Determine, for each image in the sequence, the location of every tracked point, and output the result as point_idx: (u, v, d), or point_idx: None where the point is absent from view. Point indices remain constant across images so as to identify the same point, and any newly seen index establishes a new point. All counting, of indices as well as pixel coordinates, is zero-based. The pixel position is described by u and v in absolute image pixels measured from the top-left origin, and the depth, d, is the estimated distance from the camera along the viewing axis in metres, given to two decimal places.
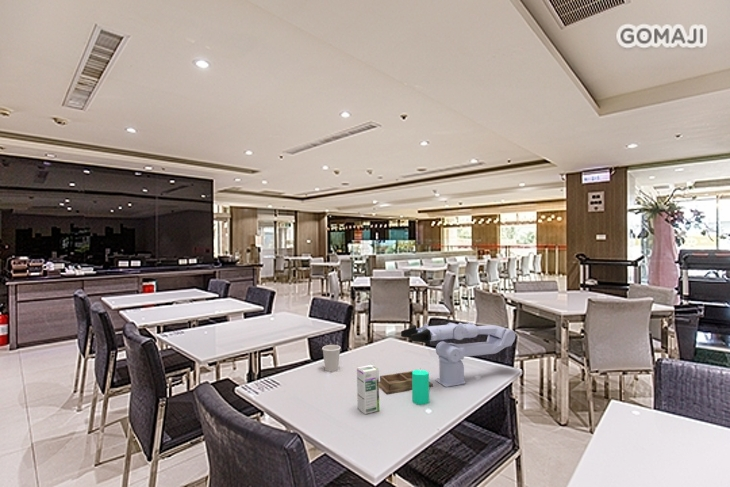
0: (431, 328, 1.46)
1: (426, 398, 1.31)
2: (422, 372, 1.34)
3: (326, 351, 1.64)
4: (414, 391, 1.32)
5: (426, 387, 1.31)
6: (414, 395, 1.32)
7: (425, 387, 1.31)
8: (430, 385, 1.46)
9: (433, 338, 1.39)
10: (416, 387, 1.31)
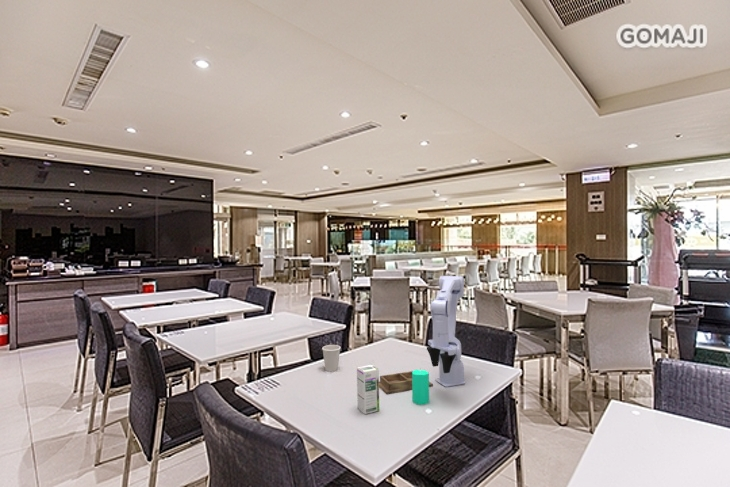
0: (437, 342, 1.34)
1: (426, 398, 1.31)
2: (422, 372, 1.34)
3: (326, 351, 1.64)
4: (414, 391, 1.32)
5: (426, 387, 1.31)
6: (414, 395, 1.32)
7: (425, 387, 1.31)
8: (430, 385, 1.46)
9: (452, 353, 1.30)
10: (416, 387, 1.31)
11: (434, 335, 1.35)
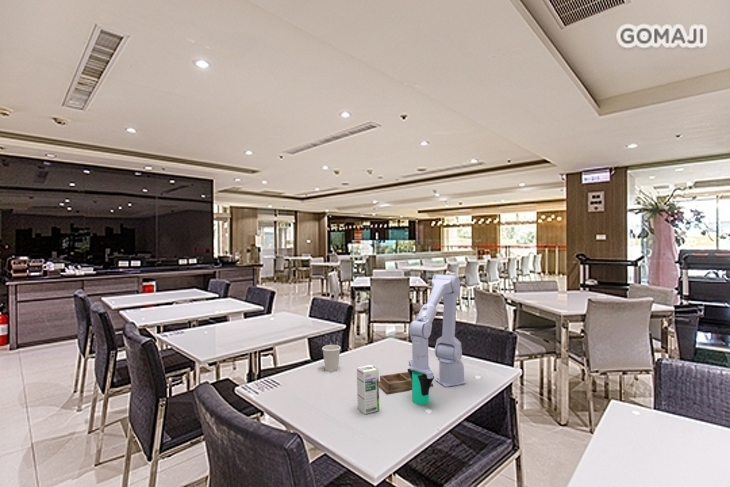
0: (416, 365, 1.31)
1: (426, 398, 1.31)
2: None
3: (326, 351, 1.64)
4: (414, 391, 1.32)
5: None
6: (414, 395, 1.32)
7: None
8: (430, 385, 1.46)
9: (431, 377, 1.27)
10: (416, 387, 1.31)
11: (413, 357, 1.32)
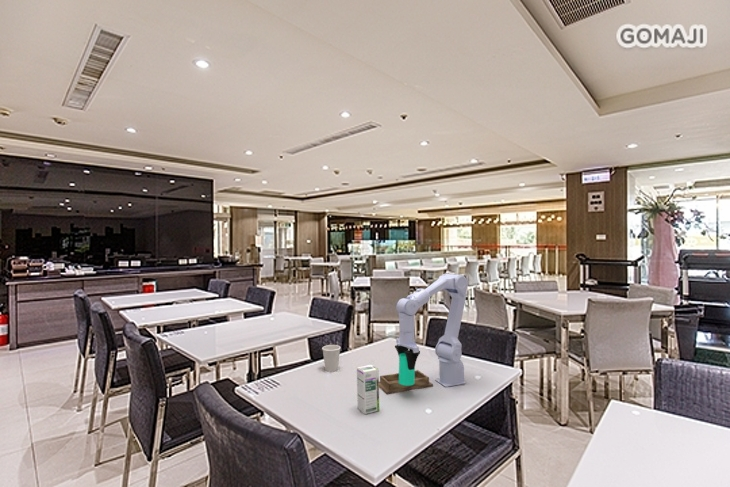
0: (403, 340, 1.37)
1: (411, 379, 1.37)
2: None
3: (326, 351, 1.64)
4: (400, 372, 1.38)
5: None
6: (400, 376, 1.38)
7: None
8: (430, 385, 1.46)
9: (416, 351, 1.33)
10: (401, 368, 1.37)
11: (400, 333, 1.38)
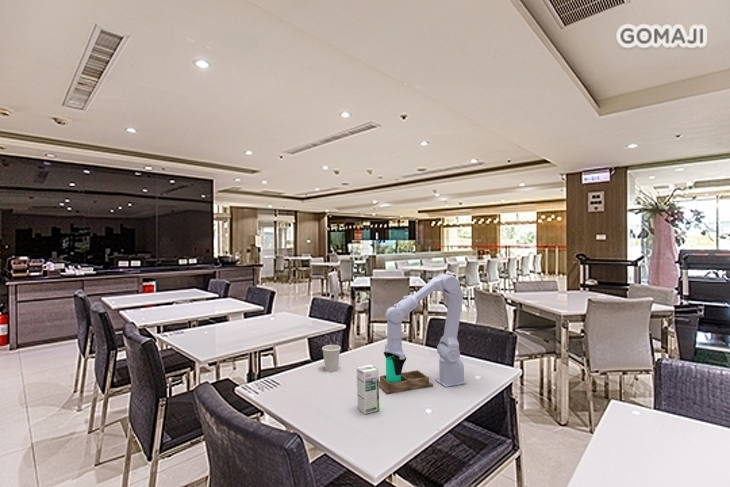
0: (390, 347, 1.44)
1: None
2: None
3: (326, 351, 1.64)
4: (387, 375, 1.45)
5: None
6: (387, 379, 1.45)
7: None
8: (430, 385, 1.46)
9: (403, 358, 1.40)
10: (388, 371, 1.44)
11: (388, 340, 1.45)
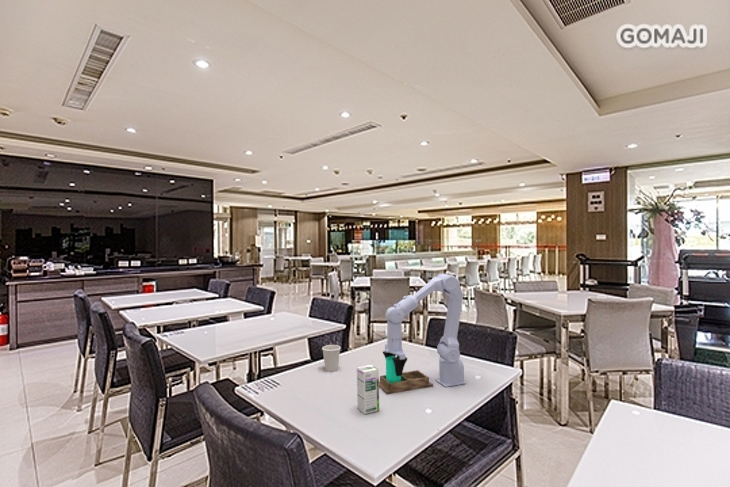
0: (390, 347, 1.44)
1: None
2: None
3: (326, 351, 1.64)
4: (387, 375, 1.45)
5: None
6: (387, 379, 1.45)
7: None
8: (430, 385, 1.46)
9: (403, 358, 1.40)
10: (388, 371, 1.44)
11: (388, 340, 1.45)
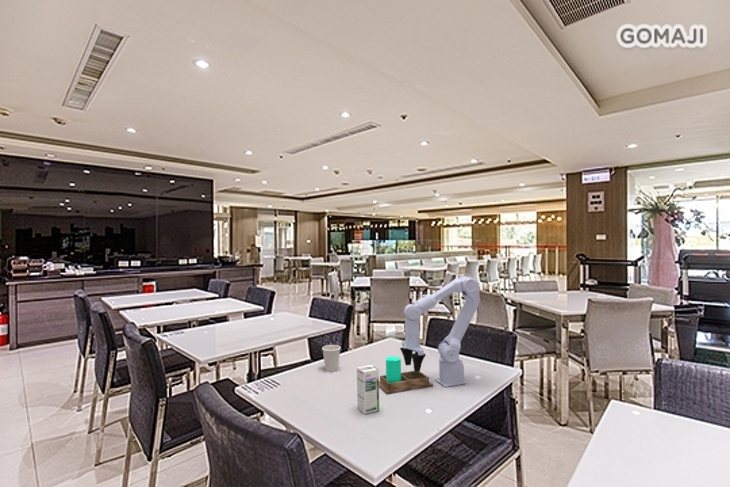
0: (409, 343, 1.47)
1: None
2: (395, 358, 1.47)
3: (326, 351, 1.64)
4: (387, 375, 1.45)
5: (397, 372, 1.43)
6: (387, 379, 1.45)
7: (396, 372, 1.43)
8: (430, 385, 1.46)
9: (421, 354, 1.43)
10: (388, 371, 1.44)
11: (406, 337, 1.48)
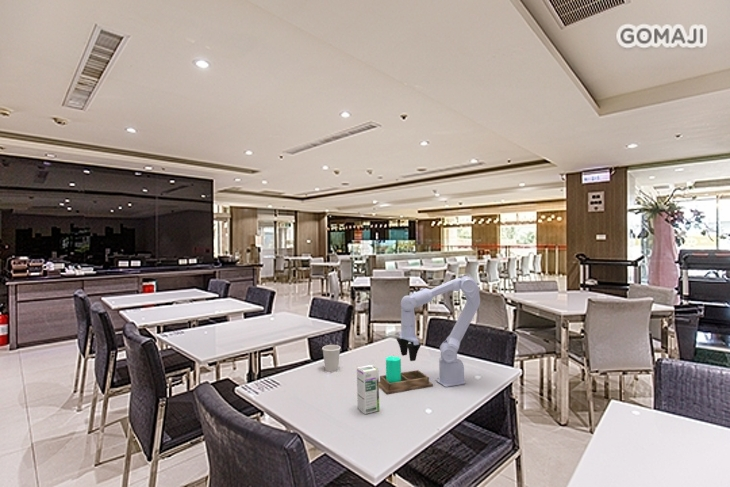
0: (404, 334, 1.51)
1: None
2: (395, 358, 1.47)
3: (326, 351, 1.64)
4: (387, 375, 1.45)
5: (397, 372, 1.43)
6: (387, 379, 1.45)
7: (396, 372, 1.43)
8: (430, 385, 1.46)
9: (417, 343, 1.46)
10: (388, 371, 1.44)
11: (402, 327, 1.52)
